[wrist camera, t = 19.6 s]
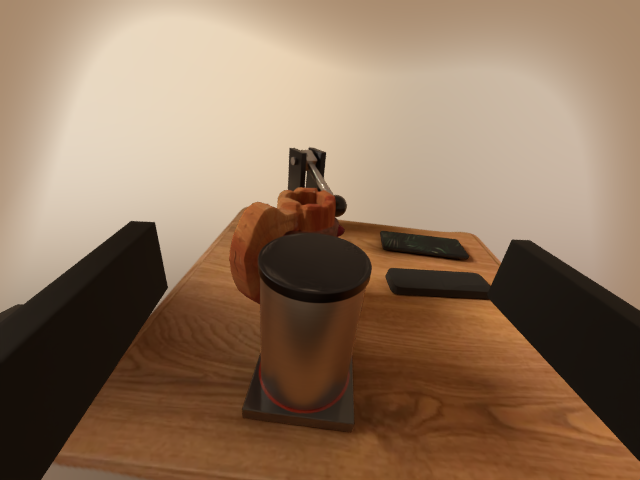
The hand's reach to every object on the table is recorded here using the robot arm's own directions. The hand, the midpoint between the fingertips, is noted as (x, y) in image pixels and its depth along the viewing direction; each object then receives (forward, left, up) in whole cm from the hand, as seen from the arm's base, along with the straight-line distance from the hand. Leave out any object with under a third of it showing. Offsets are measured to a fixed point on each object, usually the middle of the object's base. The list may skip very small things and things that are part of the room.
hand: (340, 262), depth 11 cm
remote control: (+8, +30, -18) cm, 36 cm away
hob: (-4, +8, -18) cm, 20 cm away
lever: (-14, +36, -10) cm, 40 cm away
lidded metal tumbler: (-4, +8, -17) cm, 19 cm away
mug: (-9, +15, -19) cm, 26 cm away
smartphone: (+5, +42, -18) cm, 46 cm away
